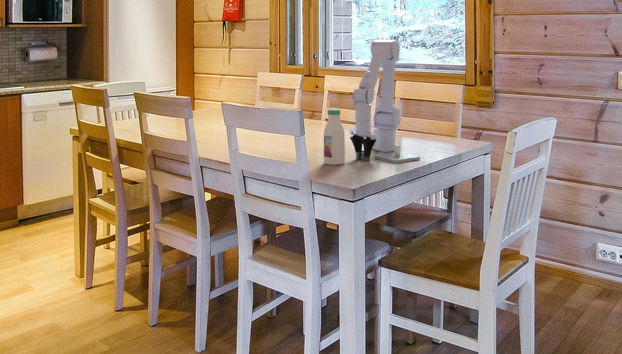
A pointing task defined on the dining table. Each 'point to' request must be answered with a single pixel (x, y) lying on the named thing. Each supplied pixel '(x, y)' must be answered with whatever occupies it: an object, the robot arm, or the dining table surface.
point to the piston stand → (397, 156)
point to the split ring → (361, 156)
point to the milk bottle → (334, 139)
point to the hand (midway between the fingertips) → (362, 155)
